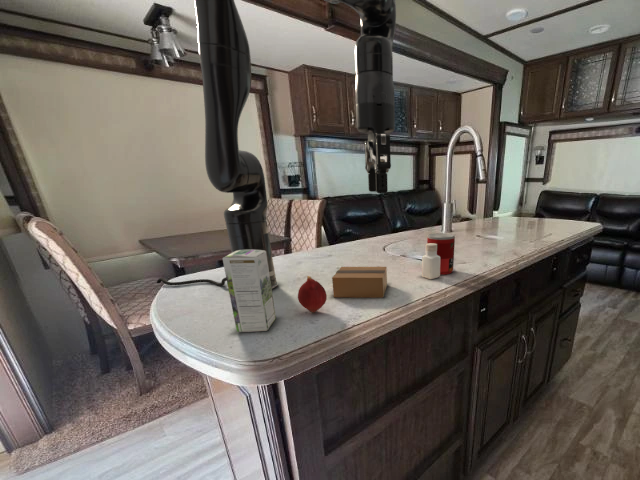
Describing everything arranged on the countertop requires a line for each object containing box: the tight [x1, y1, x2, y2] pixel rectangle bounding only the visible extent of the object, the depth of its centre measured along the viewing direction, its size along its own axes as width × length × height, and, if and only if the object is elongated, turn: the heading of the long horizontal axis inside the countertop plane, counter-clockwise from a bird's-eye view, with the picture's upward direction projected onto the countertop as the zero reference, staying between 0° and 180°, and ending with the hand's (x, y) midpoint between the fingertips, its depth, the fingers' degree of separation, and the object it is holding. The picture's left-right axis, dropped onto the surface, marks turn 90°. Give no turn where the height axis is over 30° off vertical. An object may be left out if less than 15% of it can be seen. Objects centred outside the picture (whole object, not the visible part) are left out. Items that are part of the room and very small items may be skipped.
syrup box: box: [222, 250, 277, 333], centre depth 59 cm, size 6×6×14 cm
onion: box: [297, 275, 328, 313], centre depth 66 cm, size 6×6×8 cm
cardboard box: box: [331, 266, 388, 299], centre depth 79 cm, size 12×10×5 cm
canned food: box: [426, 232, 456, 276], centre depth 94 cm, size 8×8×11 cm
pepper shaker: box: [421, 243, 441, 280], centre depth 89 cm, size 4×4×10 cm
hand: (377, 192), depth 67 cm, fingers open, 8 cm apart
